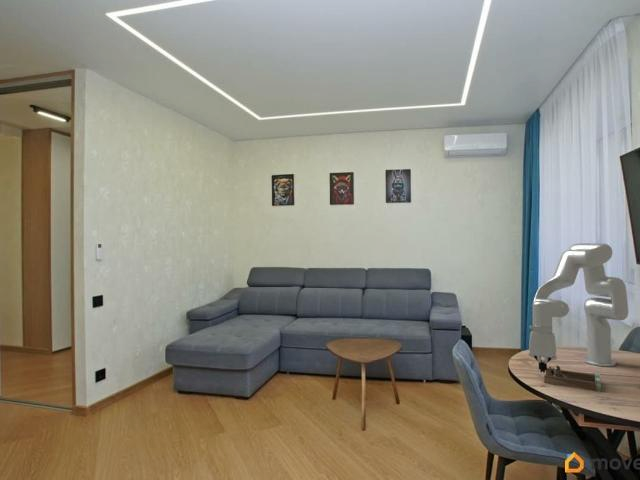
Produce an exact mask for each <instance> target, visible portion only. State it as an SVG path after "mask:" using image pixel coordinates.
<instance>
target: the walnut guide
mask: <svg viewBox="0 0 640 480" xmlns="http://www.w3.org/2000/svg"><path fill="white" fill-rule="evenodd" d="M547 368H548V369H549V367H547ZM556 369H557V368H554V370H556ZM560 370H561V373H562V374H564V375H565V376H567V377H568V378H562V377H559V376H557V377H556V376H552V374H551V372H550V371H549V370H545V374H543V375H544V376H543V378H544V380H543V381H544V383H545V384H549V385H556V386H563V387H568V388H569V387H570V388H576V389H581V390H588V391H595V392H602V385H601V384H602V383H601V376H600V372H596V371H595V372H594V373H588V372H587V373H586V372H581V371H572V370H565V369H560Z"/></svg>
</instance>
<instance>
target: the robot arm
mask: <svg viewBox="0 0 640 480" xmlns="http://www.w3.org/2000/svg"><path fill="white" fill-rule="evenodd" d="M612 257H613V248H612V246H611V245H609V244H608V243H593V242H592V243H589V242H587V243H582V242H581V243H574V244H572V245H571V246H570V247H569V249H567V250H565V251H563V252H562V253H561V255H560V258H559V261H558V263H557V266H556V269H555V271H554V274H553V276H552V277H551V278H550V279H548V280H547V281H545V282H544V283H543V284H541V286H539V288H538V289H537V290H536V293H535V295H534V298H533V301H532V324H530V325H529V326H528V329H531V331H530V332H529V333H530V334H529V344H528V351H529V352H528V356H529V357H531V358H533V359H535V360H536V361H537V363H538V370H539V371H540V373H544V374H546V370H547V368H548V366H547V365H548V363H549V362H550V361H557V359H558V357H557V341H556V335H555V333H554V332H553V318H559V319H560V318H564V317H566V316H568V314H569V312H570V307H569V305H568V304H567V302H565V301H562V300H558V299H552V298H549V297H550V295H552V294H553V293H554V292H557V291H559V290H562V289H565V288H568V287H571V286H573V285H574V284H575V282H576V279H577V275H578V274H579V273H578V272H579V271H580V269H582V270H583V279H584V287H585V291H586V293H587V294H588V295H591V296H597V297H589V298H587V299H586V300H585V301H584V303H583V310H584V314H585V318H586V338H587V339H586V340H587V341H586V345H587V346H586V347H587V348H586V349H587V351H586V352H587V356H585V357H584V358H583V361H584V363H587V364H589V365H593V366H597V367H614V366H616V361H615V360H613V359H612V328H611V325H610V323H609V321H608V320H613V321H624V320H626V319H627V318H628V317H629V304H628V293H627V292H628V291H627V286H626V284H625V282H624V280H623V279H622V278H620V277H615V276H614V277H613V276H607V275H606V271H605V266H604V264H606V263H607V262H609V261H610V260H611V258H612ZM604 297H605V298H604ZM542 357H543V358H544V359H543V360H542Z"/></svg>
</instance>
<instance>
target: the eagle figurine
mask: <svg viewBox="0 0 640 480" xmlns="http://www.w3.org/2000/svg"><path fill="white" fill-rule="evenodd" d="M555 366H556V368H554V366H553V367H552V366H551V365H550V366H549V367H547V370H549V371H550V372H551V374H552V376H556V377H557V376H559V377H562V378H568V377H567V376H565V375H564V374H562V373H561V370H562V369H561V367H560V365H557V364H556V365H555ZM548 368H549V369H548ZM554 369H556V370H554Z"/></svg>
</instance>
